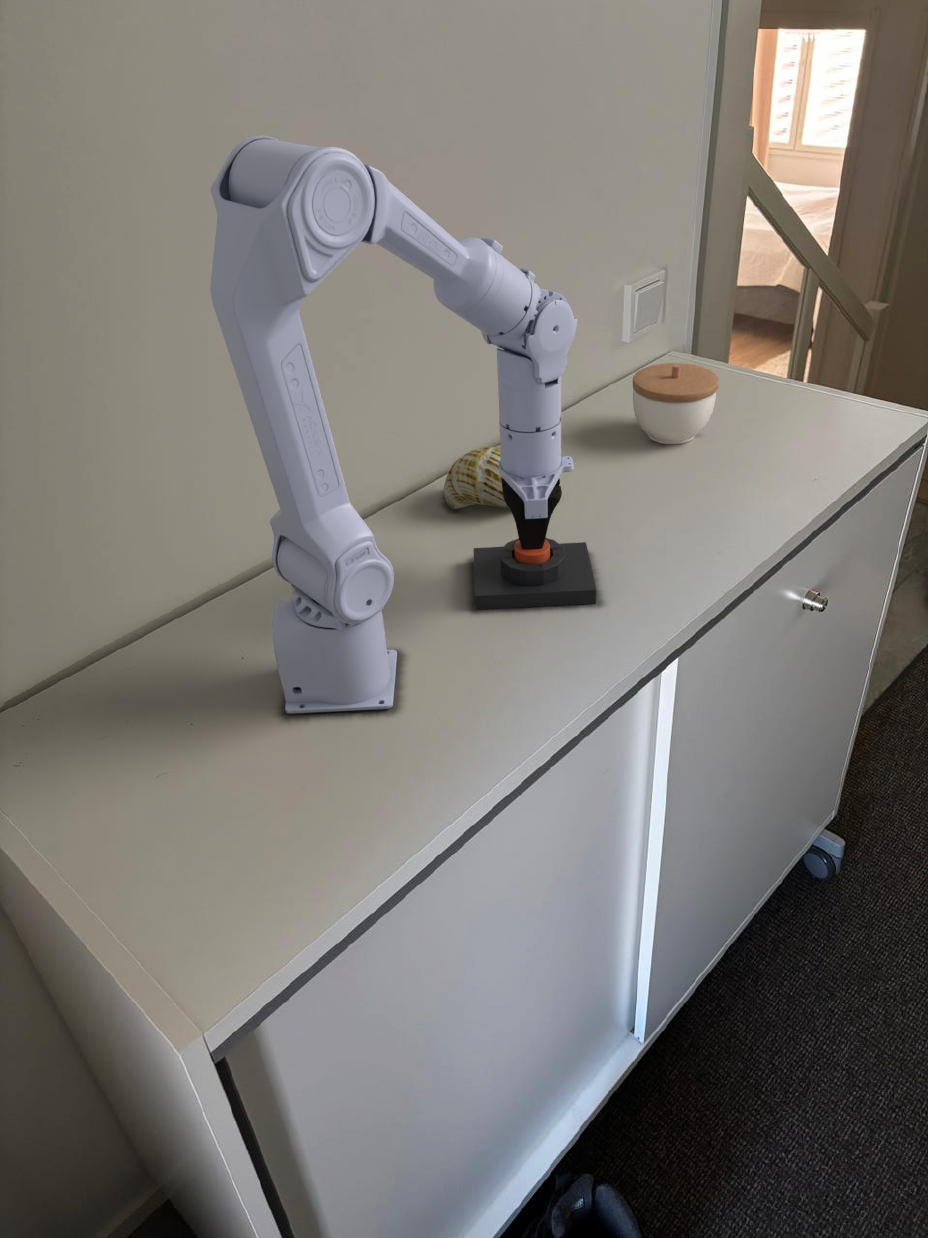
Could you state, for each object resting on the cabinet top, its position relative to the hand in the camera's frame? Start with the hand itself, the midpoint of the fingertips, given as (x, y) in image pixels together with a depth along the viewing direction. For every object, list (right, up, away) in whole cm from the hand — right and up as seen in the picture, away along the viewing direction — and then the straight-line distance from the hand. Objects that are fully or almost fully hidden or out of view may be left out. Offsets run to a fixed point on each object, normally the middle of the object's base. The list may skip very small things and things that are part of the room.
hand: (532, 545), depth 93 cm
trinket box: (+21, +17, +29) cm, 39 cm away
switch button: (0, -1, +1) cm, 2 cm away
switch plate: (0, -4, +3) cm, 4 cm away
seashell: (-3, +6, +17) cm, 19 cm away
